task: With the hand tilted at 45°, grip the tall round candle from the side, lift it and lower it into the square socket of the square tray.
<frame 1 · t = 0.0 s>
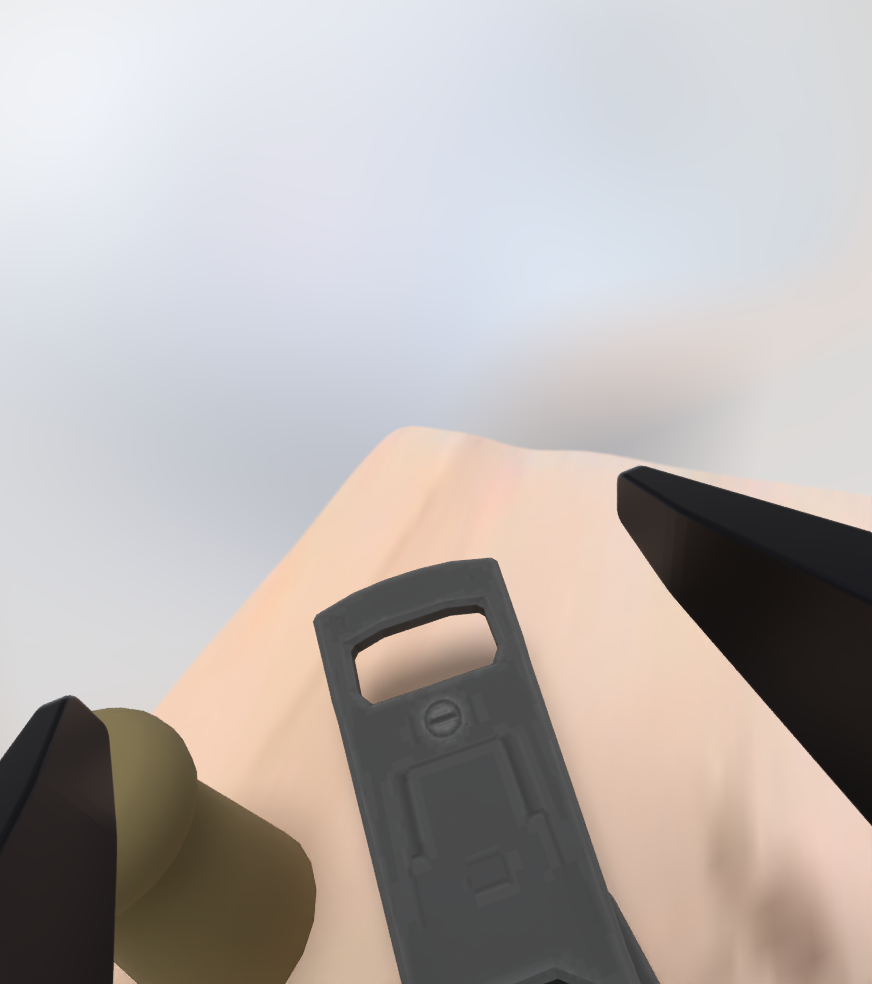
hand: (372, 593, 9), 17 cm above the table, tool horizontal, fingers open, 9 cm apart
cork: (238, 918, 21), on the table
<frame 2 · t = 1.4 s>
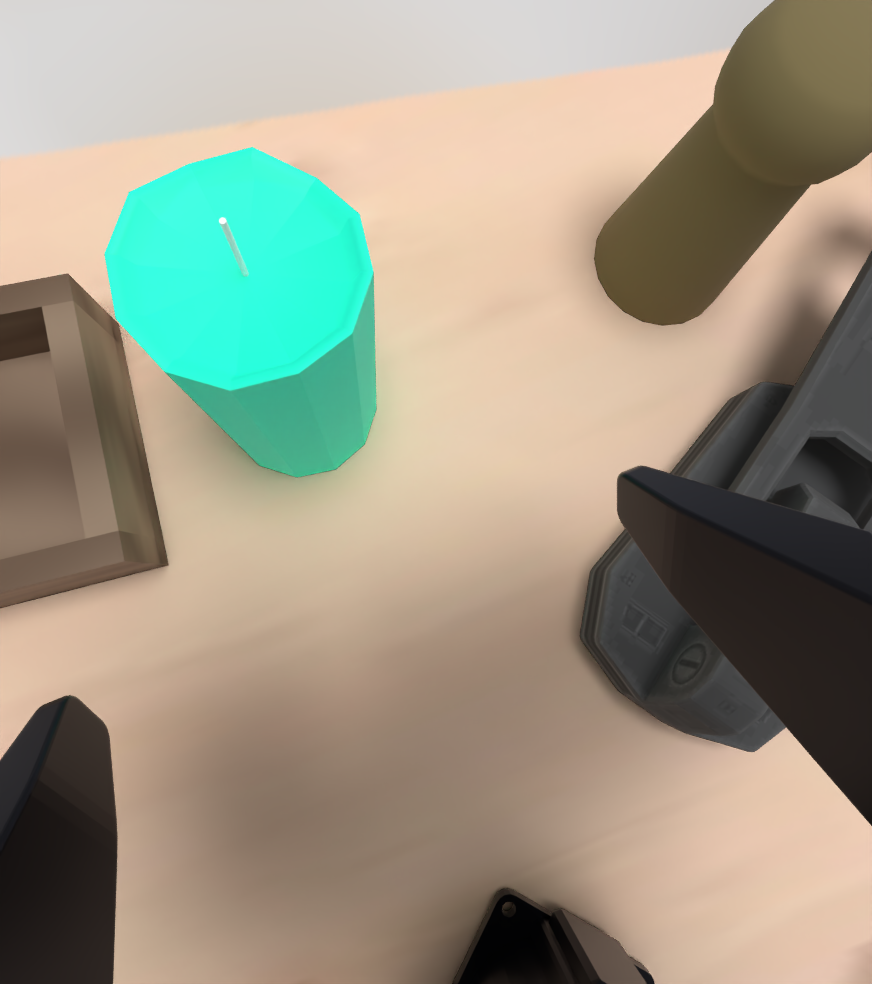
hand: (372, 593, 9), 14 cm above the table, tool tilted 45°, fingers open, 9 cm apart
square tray: (7, 471, 22), on the table
zipper pull: (778, 459, 25), on the table
cork: (656, 265, 26), on the table
candle: (303, 406, 23), on the table
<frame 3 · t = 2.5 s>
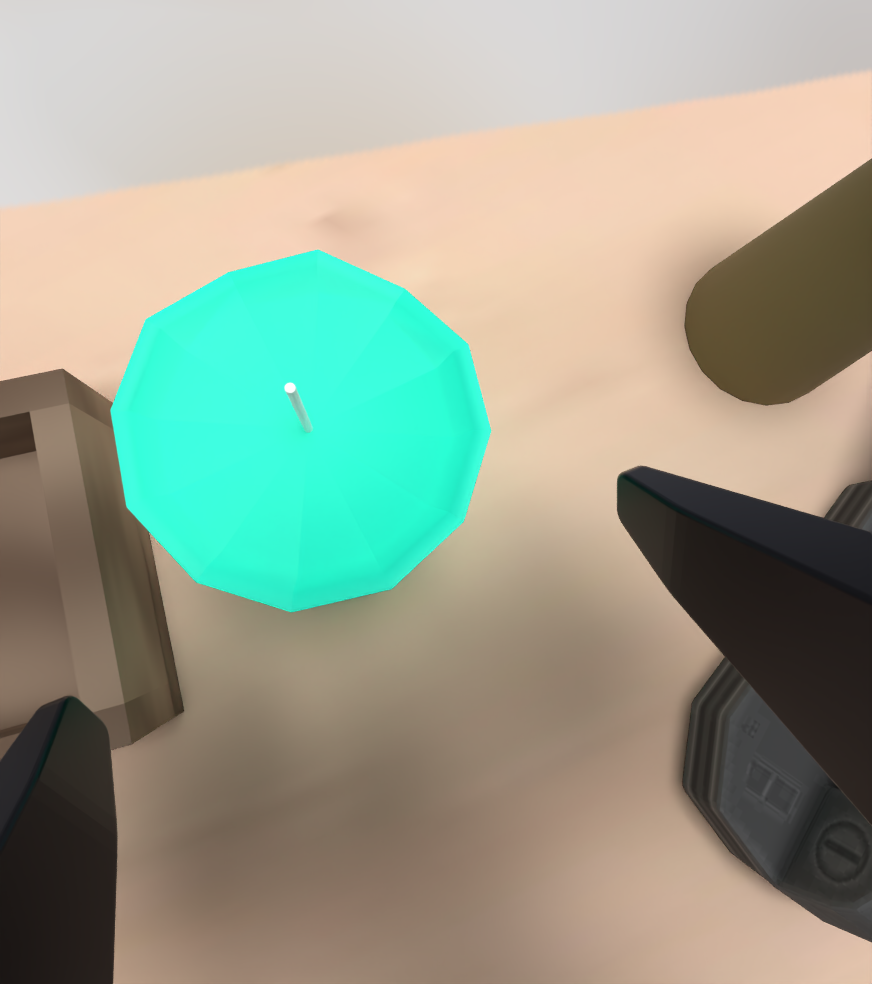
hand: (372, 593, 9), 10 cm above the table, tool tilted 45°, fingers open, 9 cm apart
cork: (756, 332, 22), on the table
candle: (344, 508, 20), on the table
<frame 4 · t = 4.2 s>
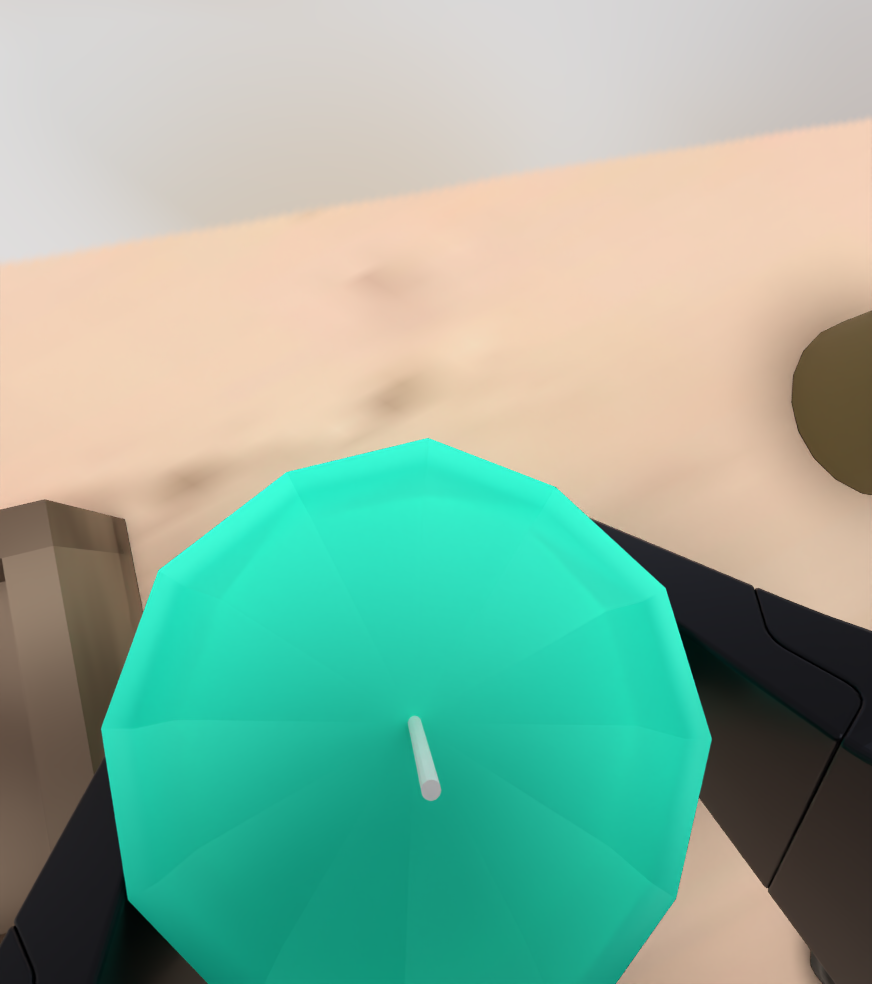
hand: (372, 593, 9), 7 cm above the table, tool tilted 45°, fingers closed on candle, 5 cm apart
candle: (393, 635, 16), on the table, touching gripper
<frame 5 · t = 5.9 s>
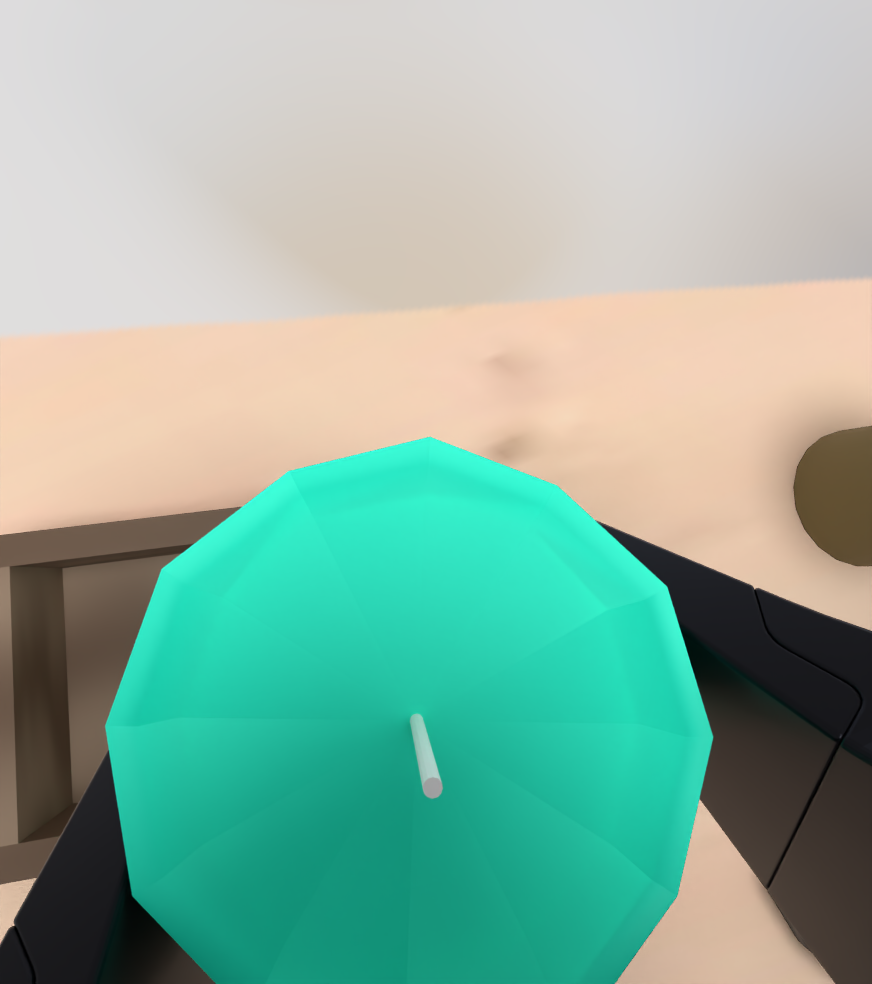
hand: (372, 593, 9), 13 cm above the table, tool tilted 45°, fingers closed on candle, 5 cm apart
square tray: (193, 661, 21), on the table
cork: (854, 497, 25), on the table
candle: (395, 633, 16), point 6 cm above the table, touching gripper
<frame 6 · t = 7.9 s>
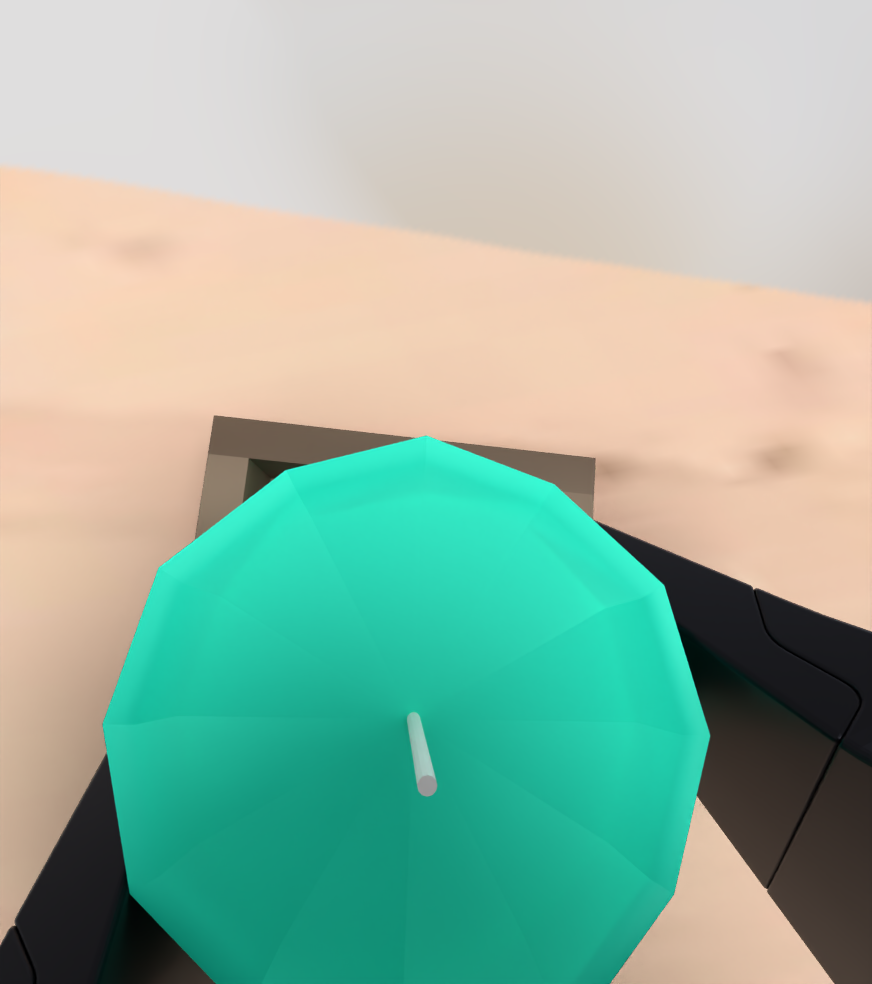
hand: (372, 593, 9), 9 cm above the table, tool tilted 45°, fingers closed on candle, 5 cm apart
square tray: (388, 621, 18), on the table
candle: (395, 632, 16), point 2 cm above the table, touching gripper
when the fingers open (9 cm above the table, at t = 7.9 s): candle drops 1 cm, resting on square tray.
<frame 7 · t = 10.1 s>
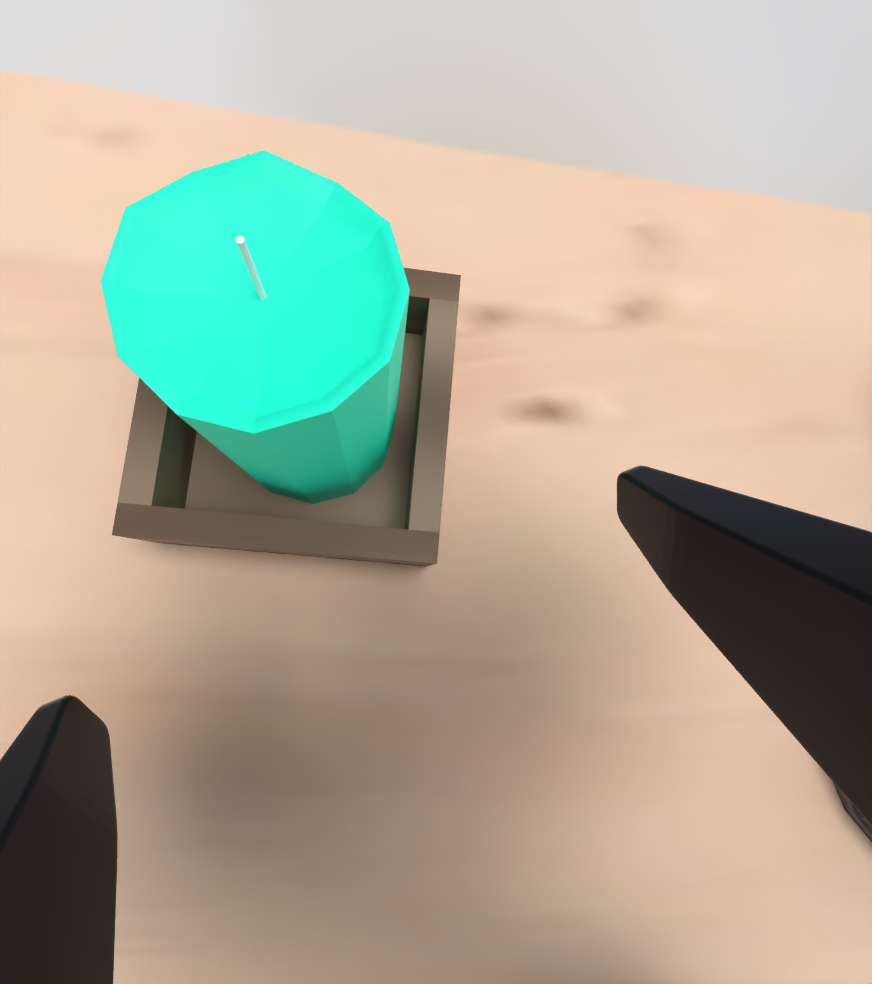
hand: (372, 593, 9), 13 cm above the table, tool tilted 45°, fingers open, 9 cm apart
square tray: (311, 427, 22), on the table
candle: (315, 426, 22), point 1 cm above the table, touching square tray
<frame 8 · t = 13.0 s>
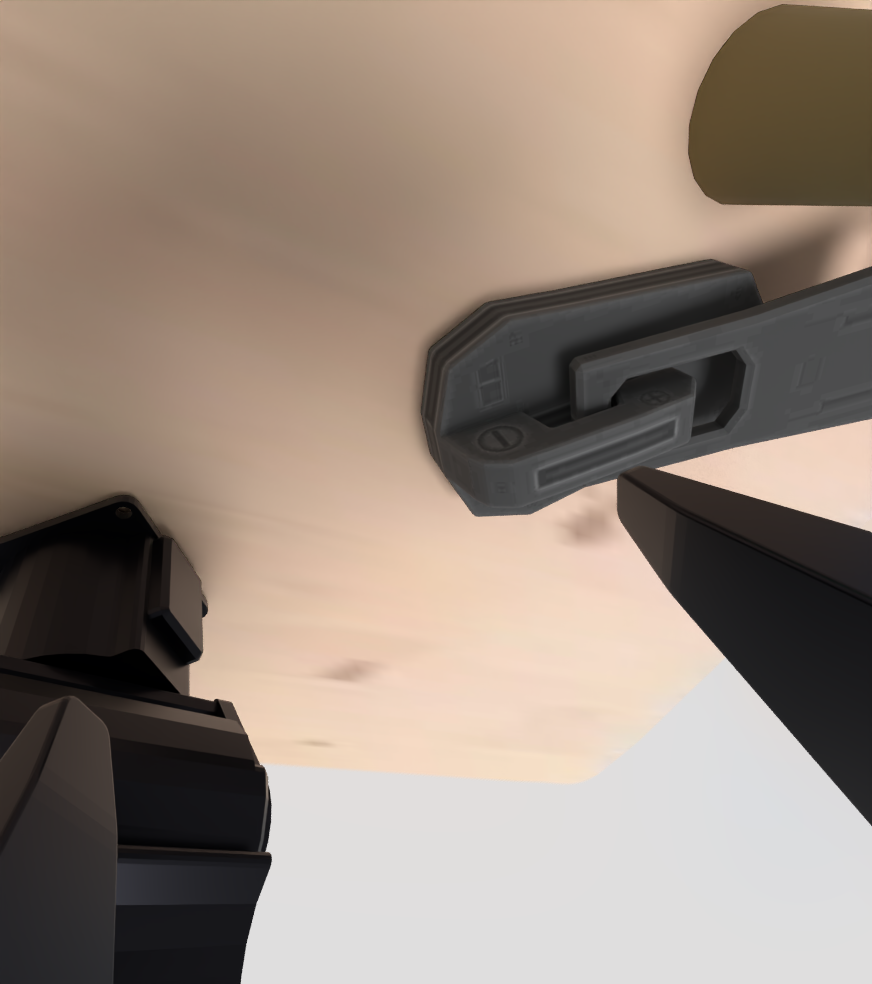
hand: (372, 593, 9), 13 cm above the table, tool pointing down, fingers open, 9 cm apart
zipper pull: (680, 338, 26), on the table
cork: (755, 113, 21), on the table
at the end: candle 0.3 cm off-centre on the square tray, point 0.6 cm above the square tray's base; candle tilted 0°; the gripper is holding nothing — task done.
